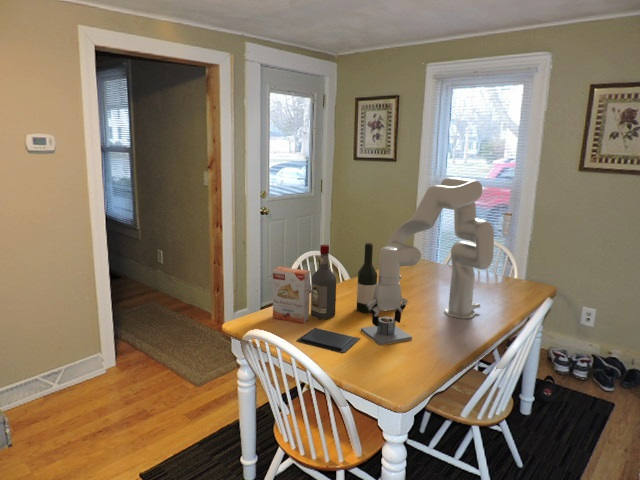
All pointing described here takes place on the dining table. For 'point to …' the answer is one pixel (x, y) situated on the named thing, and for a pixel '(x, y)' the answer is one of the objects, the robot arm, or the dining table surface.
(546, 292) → the dining table surface
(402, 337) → the post base
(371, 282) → the wine bottle
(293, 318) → the cracker box
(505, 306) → the dining table surface
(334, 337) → the wallet
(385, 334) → the collar
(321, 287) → the liquor
